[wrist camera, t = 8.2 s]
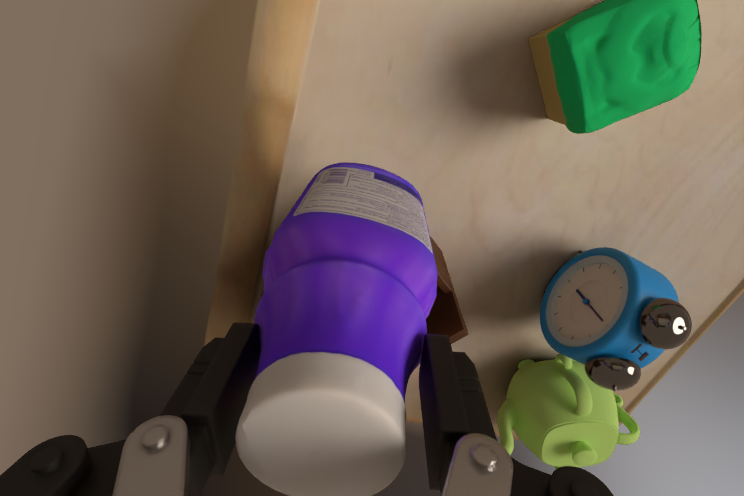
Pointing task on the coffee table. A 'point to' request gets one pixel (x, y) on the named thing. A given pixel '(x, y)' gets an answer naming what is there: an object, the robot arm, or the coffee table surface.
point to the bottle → (339, 335)
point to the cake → (617, 60)
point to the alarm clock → (612, 316)
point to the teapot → (563, 414)
